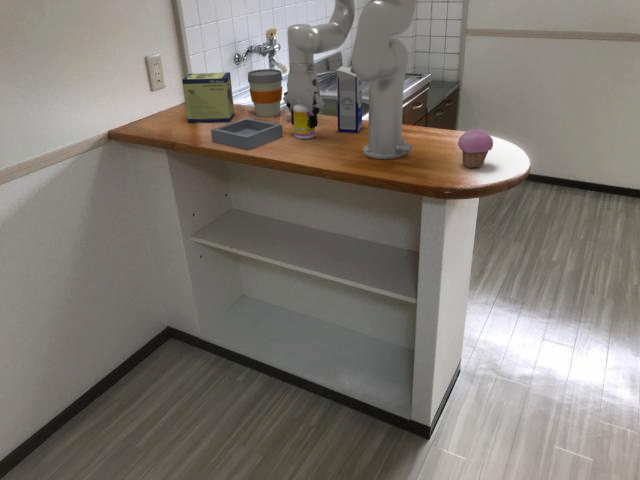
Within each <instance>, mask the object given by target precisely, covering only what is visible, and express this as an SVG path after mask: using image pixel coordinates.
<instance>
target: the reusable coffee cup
mask: <svg viewBox="0 0 640 480" xmlns="http://www.w3.org/2000/svg"><path fill="white" fill-rule="evenodd" d="M282 81H283V75H282V71H281V70H280V69H273V68H268V69H267V68H264V69H255V70H250V71H249V72H247V82H248V85H249V94H250V98H251V102H252V104H253V108H254V112H255V115H256V117H261V118H263V117H264V118H270V117H271V118H272V117H275V116H279V115H280V114H281V113H280V112H281V101H282V100H283V86H282Z"/></svg>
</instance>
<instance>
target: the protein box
mask: <svg viewBox="0 0 640 480" xmlns="http://www.w3.org/2000/svg"><path fill="white" fill-rule="evenodd" d="M181 80H182V87H183V95H184V100H185V101H184V103H185V108H186V116H187V118H186V119H187V123H188V124H198V123H197V122H205V124H207V123H209V124H211V123H231V122H232V120H233V118H234V116H235V108H234V98H233V89H232V77H231V72H230V71H229V72H227V71H226V72H204V73H203V72H202V73H201V72H199V73H197V72H195V73H188V74H187V75H186V76H184V77H183V78H182V79H181Z"/></svg>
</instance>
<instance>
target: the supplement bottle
mask: <svg viewBox="0 0 640 480" xmlns="http://www.w3.org/2000/svg"><path fill="white" fill-rule="evenodd" d="M297 101H298V103H300V100H297ZM312 109H313V107H312ZM313 110H314V109H313ZM293 114H294V125H293V131H294V137H295V138H297V139H299V140H300V139H301V140H308V139H312V138H314V137H315V135H316V127H314V128H310V126H309V116H310V115H311V114H310V112H309V109H308V107H305V106H301V105H300V104H298V105H294V107H293Z"/></svg>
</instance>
